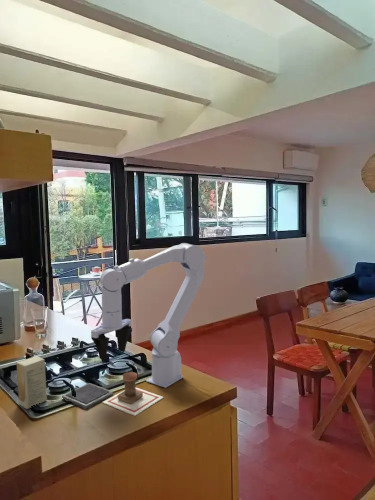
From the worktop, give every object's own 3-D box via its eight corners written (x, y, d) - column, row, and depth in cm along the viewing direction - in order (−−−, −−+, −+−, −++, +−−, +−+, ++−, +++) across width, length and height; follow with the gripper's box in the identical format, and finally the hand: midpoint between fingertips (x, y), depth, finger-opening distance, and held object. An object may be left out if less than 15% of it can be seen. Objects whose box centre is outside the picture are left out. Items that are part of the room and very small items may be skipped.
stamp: (129, 393, 113) (128, 369, 113) (142, 397, 111) (142, 373, 110) (117, 400, 109) (117, 376, 108) (131, 404, 107) (131, 380, 106)
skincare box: (39, 396, 112) (37, 355, 111) (47, 400, 109) (46, 358, 108) (17, 404, 107) (15, 361, 106) (25, 409, 104) (23, 365, 103)
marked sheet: (132, 386, 118) (132, 385, 118) (163, 397, 111) (163, 396, 111) (102, 403, 108) (102, 401, 108) (135, 416, 101) (135, 414, 101)
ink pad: (89, 386, 118) (89, 382, 118) (113, 395, 113) (113, 391, 113) (62, 399, 110) (62, 395, 110) (86, 409, 105) (86, 405, 104)
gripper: (119, 303, 123) (120, 345, 124) (83, 313, 111) (84, 359, 112) (136, 306, 119) (136, 349, 120) (100, 317, 107) (101, 365, 108)
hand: (112, 354), depth 116 cm, fingers open, 7 cm apart
